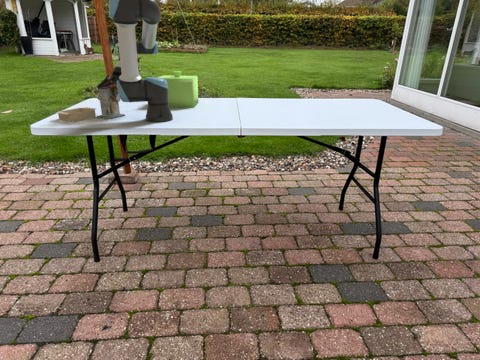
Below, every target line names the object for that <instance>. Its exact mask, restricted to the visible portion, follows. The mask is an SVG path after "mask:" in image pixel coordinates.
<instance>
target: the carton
mask: <svg viewBox="0 0 480 360" xmlns="http://www.w3.org/2000/svg"><path fill="white" fill-rule="evenodd" d="M96 110H97V108H96V107H88V106H86V107H76V108H70V109H66V110H58V111H57V112H55V114H58V120H61V121H65V122H71V123H75V122H79V121H84V119H85V120H88V119H89V118H90V119H94V118H96V117H97V115H96ZM90 119H89V120H90Z"/></svg>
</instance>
